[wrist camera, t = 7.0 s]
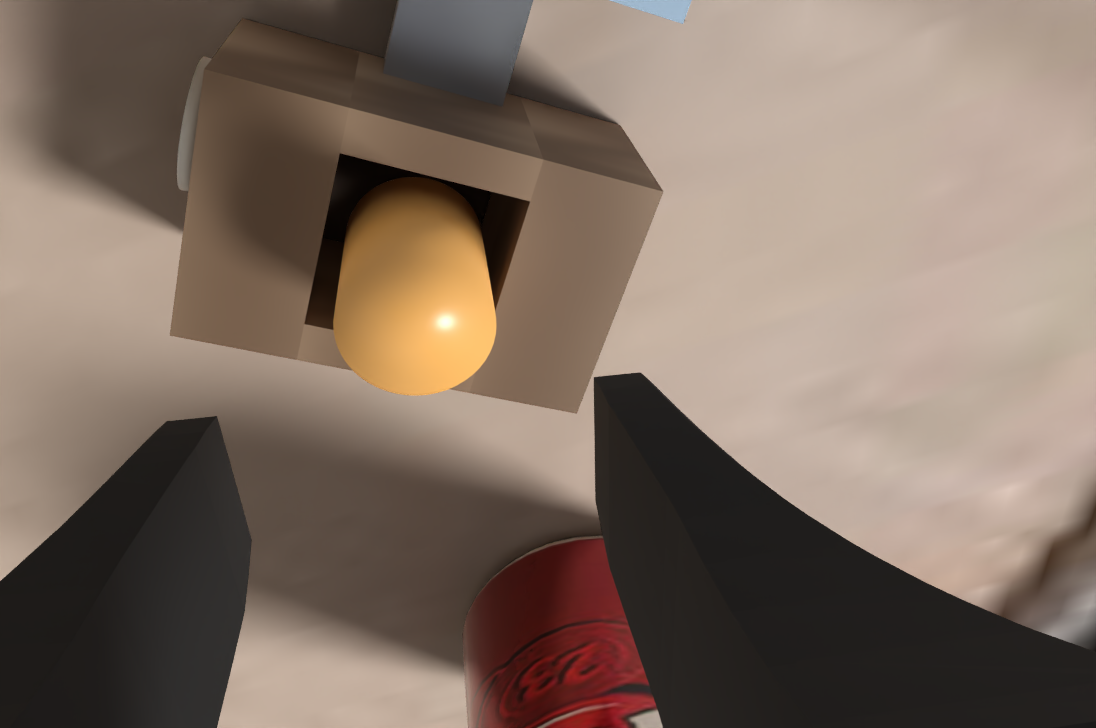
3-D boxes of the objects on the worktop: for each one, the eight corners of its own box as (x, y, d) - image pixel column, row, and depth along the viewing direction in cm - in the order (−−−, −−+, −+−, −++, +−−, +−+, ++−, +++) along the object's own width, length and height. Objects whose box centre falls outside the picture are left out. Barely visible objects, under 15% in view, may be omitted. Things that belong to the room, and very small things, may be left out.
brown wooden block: (620, 125, 20) (662, 191, 17) (551, 320, 22) (576, 413, 19) (226, 13, 18) (184, 63, 15) (194, 242, 20) (152, 331, 17)
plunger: (497, 196, 17) (515, 274, 15) (462, 313, 19) (472, 407, 16) (361, 161, 17) (351, 236, 14) (333, 286, 18) (319, 379, 15)
